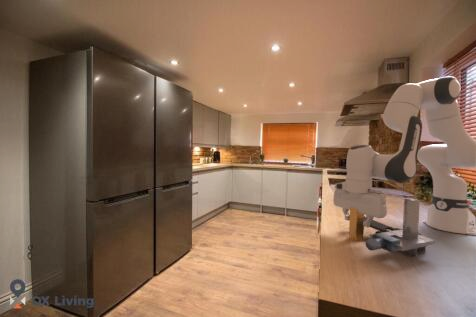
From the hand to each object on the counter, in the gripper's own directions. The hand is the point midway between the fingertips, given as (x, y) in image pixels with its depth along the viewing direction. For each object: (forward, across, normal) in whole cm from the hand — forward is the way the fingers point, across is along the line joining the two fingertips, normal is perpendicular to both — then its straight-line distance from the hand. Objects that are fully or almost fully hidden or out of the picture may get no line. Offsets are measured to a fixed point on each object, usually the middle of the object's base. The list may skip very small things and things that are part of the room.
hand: (356, 223), depth 83 cm
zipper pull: (+6, -4, -10) cm, 12 cm away
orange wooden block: (+6, 0, 0) cm, 6 cm away
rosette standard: (+6, -15, +1) cm, 16 cm away
